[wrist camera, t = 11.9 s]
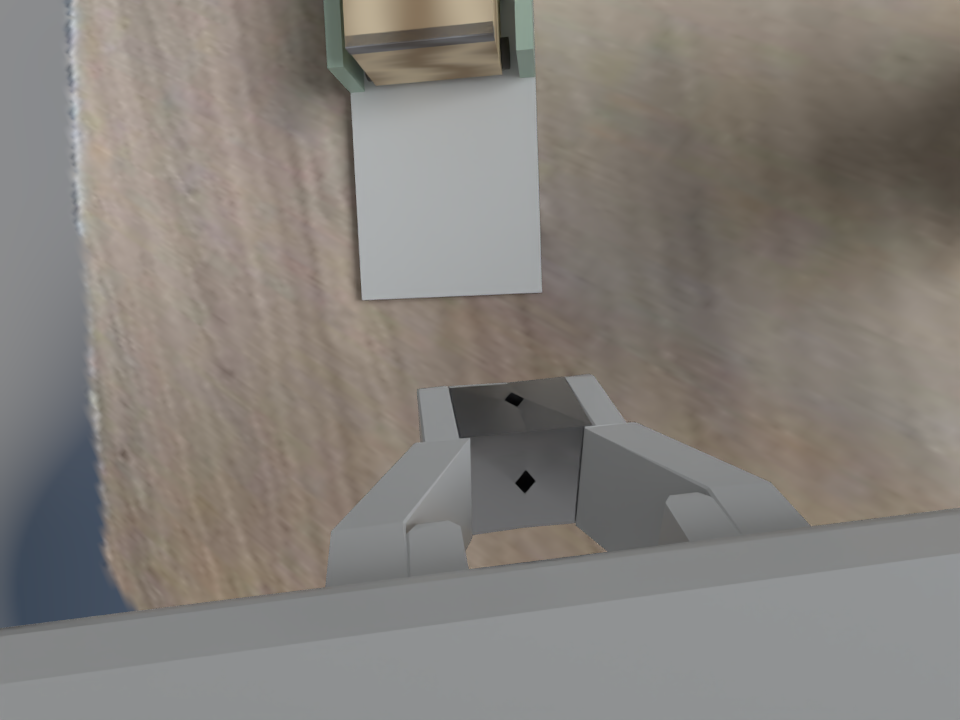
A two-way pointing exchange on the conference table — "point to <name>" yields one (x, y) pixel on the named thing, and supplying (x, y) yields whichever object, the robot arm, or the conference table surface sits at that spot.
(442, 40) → the wooden cart
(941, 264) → the conference table surface
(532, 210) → the dock
